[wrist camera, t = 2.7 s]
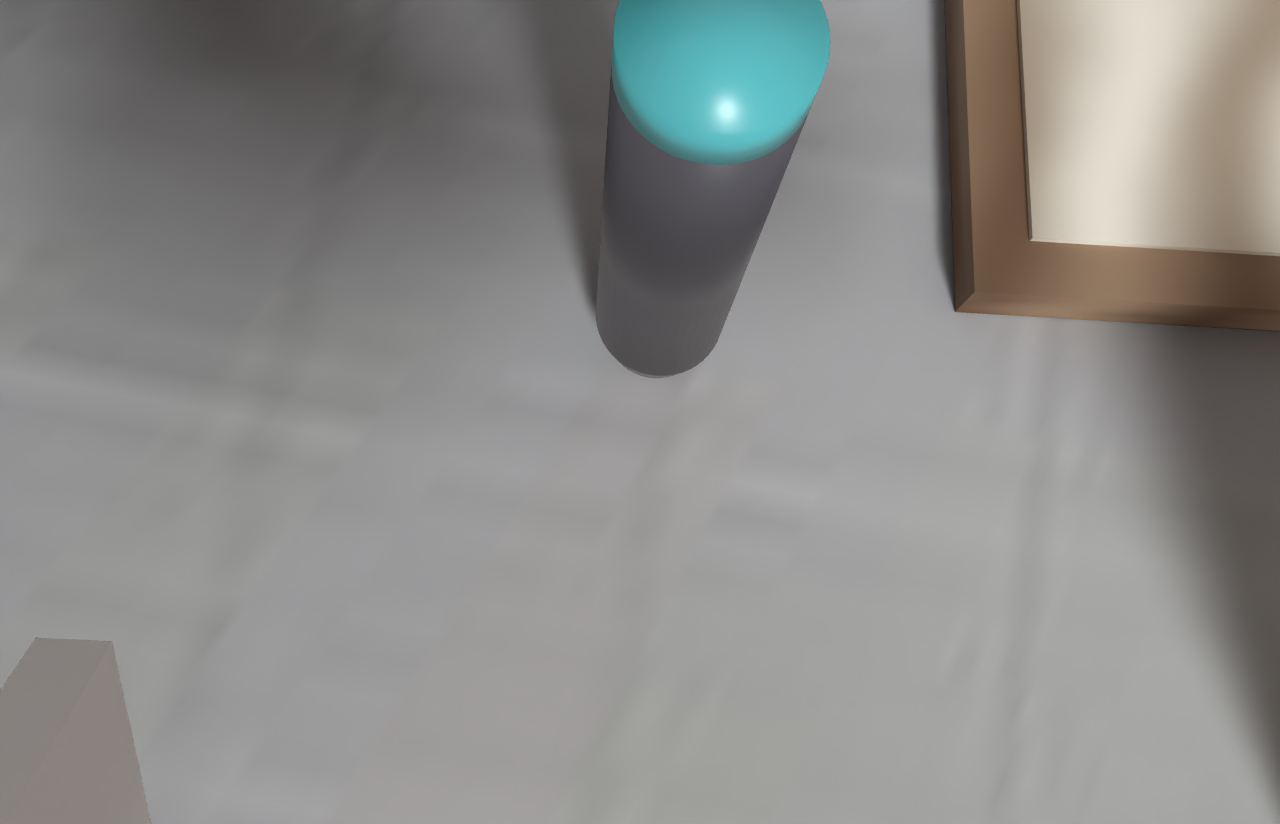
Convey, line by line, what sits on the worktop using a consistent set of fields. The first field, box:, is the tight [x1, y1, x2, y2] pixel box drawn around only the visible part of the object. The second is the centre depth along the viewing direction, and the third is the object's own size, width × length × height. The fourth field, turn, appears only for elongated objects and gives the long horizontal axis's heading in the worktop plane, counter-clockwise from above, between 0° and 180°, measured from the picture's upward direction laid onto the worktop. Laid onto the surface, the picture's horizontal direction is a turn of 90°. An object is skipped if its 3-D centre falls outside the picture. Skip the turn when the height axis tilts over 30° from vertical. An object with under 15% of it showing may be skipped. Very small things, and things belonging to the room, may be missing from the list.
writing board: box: [944, 0, 1280, 331], centre depth 32 cm, size 16×16×2 cm
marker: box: [596, 0, 830, 378], centre depth 23 cm, size 3×3×13 cm
